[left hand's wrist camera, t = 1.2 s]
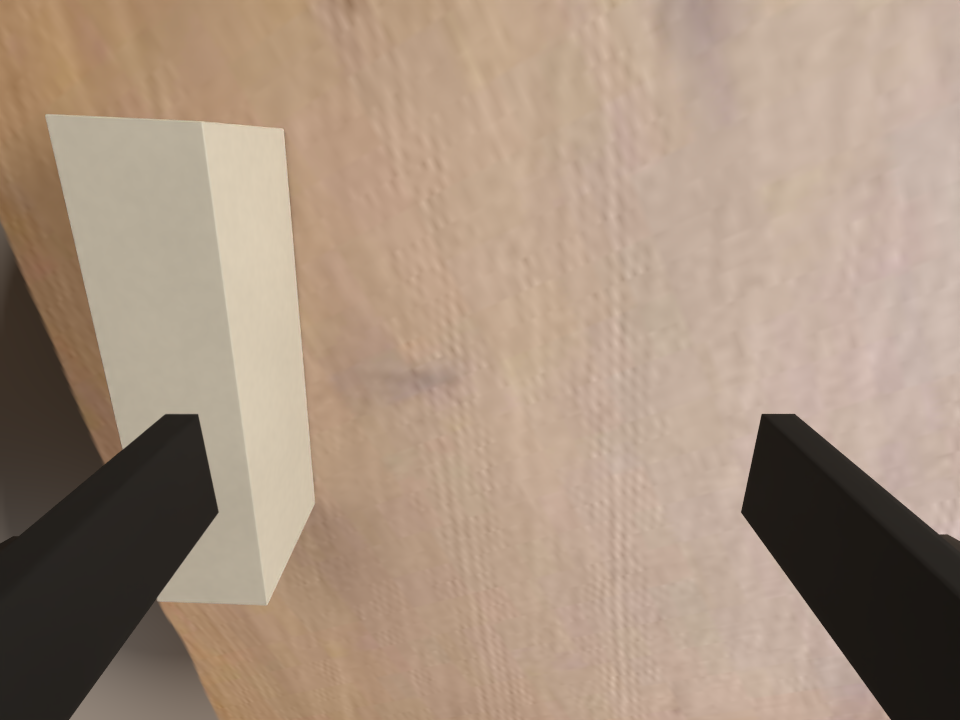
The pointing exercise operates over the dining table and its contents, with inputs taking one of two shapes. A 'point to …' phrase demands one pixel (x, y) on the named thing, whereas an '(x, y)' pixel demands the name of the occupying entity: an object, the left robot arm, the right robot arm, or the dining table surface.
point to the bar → (200, 321)
